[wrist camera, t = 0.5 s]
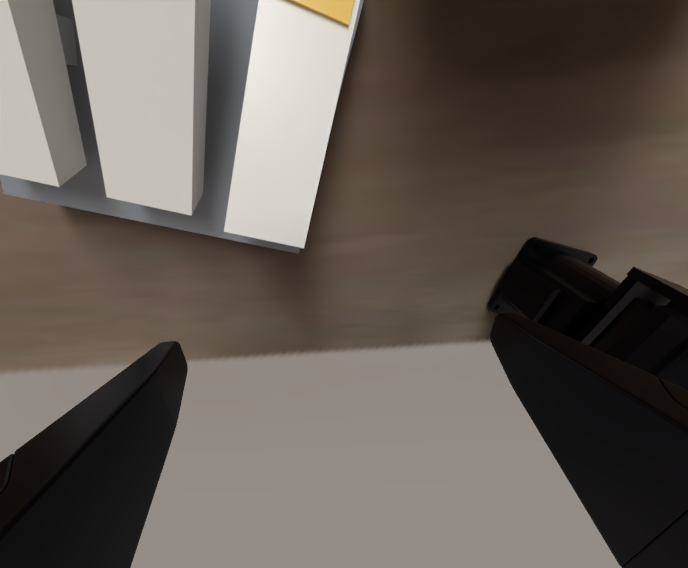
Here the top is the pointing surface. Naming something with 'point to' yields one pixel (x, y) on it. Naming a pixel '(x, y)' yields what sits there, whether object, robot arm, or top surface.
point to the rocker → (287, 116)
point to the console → (220, 137)
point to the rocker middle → (148, 96)
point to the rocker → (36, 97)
